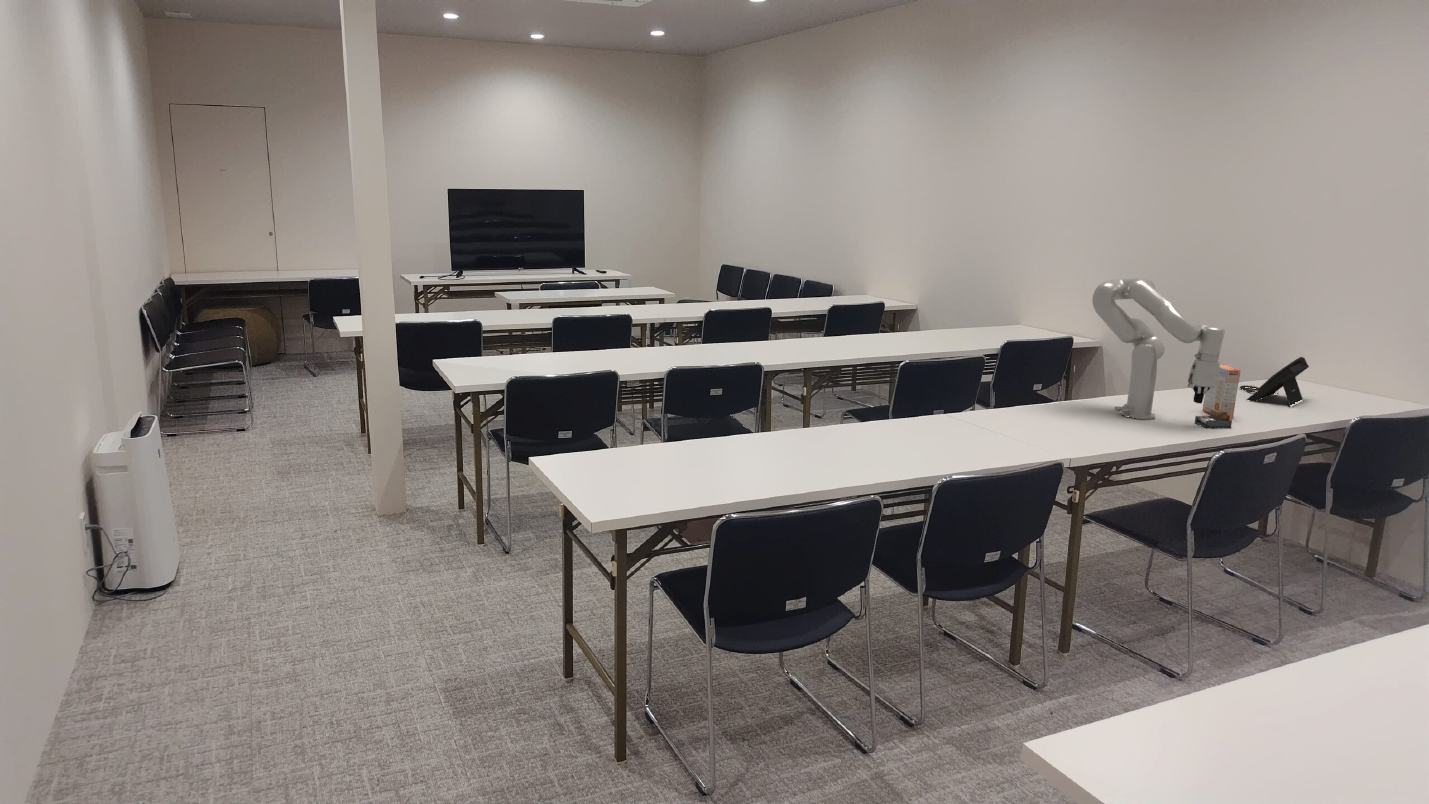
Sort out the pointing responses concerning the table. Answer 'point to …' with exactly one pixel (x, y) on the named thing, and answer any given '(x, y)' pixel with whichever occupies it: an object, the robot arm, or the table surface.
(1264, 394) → the office phone
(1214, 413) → the slab
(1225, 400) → the cracker box
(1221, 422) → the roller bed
